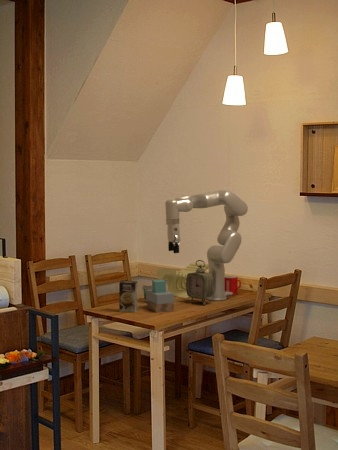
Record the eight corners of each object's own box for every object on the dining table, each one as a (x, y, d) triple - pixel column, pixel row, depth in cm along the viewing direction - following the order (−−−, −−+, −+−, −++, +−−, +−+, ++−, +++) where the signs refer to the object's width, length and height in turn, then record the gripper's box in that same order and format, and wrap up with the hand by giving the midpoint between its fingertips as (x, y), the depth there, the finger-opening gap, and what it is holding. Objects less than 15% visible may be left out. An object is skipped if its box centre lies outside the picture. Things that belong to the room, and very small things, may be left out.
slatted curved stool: (190, 289, 421) (190, 262, 420) (209, 292, 410) (209, 264, 409) (157, 296, 400) (157, 267, 398) (176, 299, 389) (176, 269, 387)
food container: (145, 304, 377) (145, 286, 376) (142, 302, 382) (142, 285, 381) (166, 302, 381) (165, 285, 380) (162, 300, 387) (162, 283, 386)
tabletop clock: (186, 302, 380) (186, 259, 378) (196, 300, 387) (196, 258, 385) (204, 306, 370) (205, 262, 368) (215, 304, 377) (215, 260, 375)
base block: (164, 306, 372) (164, 297, 372) (173, 312, 357) (173, 303, 357) (147, 307, 369) (147, 298, 369) (155, 313, 354) (155, 304, 354)
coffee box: (118, 312, 356) (118, 282, 355) (121, 309, 362) (121, 280, 361) (135, 312, 355) (135, 282, 353) (137, 310, 361) (137, 280, 360)
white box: (162, 297, 372) (162, 288, 372) (174, 302, 358) (174, 293, 357) (145, 298, 368) (145, 290, 368) (157, 304, 354) (157, 295, 353)
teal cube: (162, 290, 366) (162, 279, 366) (165, 292, 361) (165, 281, 360) (152, 291, 365) (152, 280, 364) (155, 293, 359) (155, 282, 358)
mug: (220, 294, 406) (220, 277, 405) (227, 292, 413) (227, 275, 412) (237, 296, 399) (237, 279, 398) (244, 294, 406) (244, 277, 405)
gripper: (183, 222, 364) (184, 253, 366) (174, 220, 381) (175, 249, 383) (170, 223, 362) (171, 254, 364) (162, 220, 379) (163, 250, 381)
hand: (173, 251), depth 373 cm, fingers open, 9 cm apart
